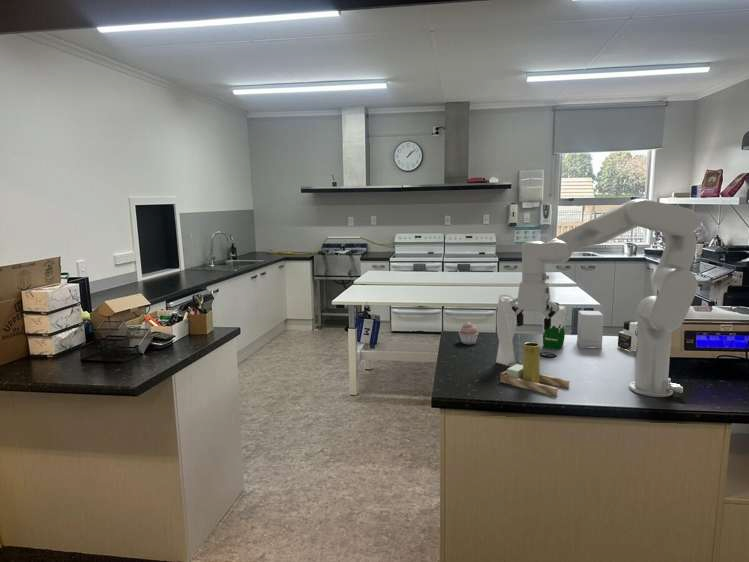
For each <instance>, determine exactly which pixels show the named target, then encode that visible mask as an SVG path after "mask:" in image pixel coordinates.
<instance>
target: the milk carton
mask: <svg viewBox="0 0 749 562" xmlns="http://www.w3.org/2000/svg"><path fill="white" fill-rule="evenodd" d="M553 302H554V301H553ZM554 303H555V304H557V305H558V306H559V309H558V310H557V312H556V314H555V315H553V317H551V327H550V329H548V330H544V319H545V318H546V317H545V316H544V315H543V314H542V347H543V349H551V350H557V351H558V350H559V351H560V350H562V348H563V347H564V343H565V342H564V341H565V335H566V334H565V333H566V315H567V314H566V306H565V305H560V304H559V302H554ZM552 310H553V308H552V307H551V308H550V310H549V311H550V312H551V311H552ZM562 346H563V347H562Z"/></svg>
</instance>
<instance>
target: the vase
mask: <svg viewBox="0 0 749 562" xmlns="http://www.w3.org/2000/svg"><path fill="white" fill-rule="evenodd" d="M540 351H541V345H540V343H537V342H534V341H533V342H531V341H528V342H524V343H523V358H522V359H523V360H522V365H523V372H522V380H526V381H531V382H535V383H539V384H541V382H540V374H541V372H540V371H541V369H540V366H541V365H540V356H541V355H540V353H541V352H540Z"/></svg>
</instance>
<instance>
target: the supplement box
mask: <svg viewBox="0 0 749 562" xmlns="http://www.w3.org/2000/svg"><path fill="white" fill-rule="evenodd" d="M577 313H578V315H577V316H578V317H577V332H576V333H577V335H576V339H577V340H576V344H579V345H578V346H579V348H580V347H595V348H594V349H600V348H602V349H603V334H604V333H603V332H604V331H603V330H604V314H603V313H602V312H601V311H600V310H578V312H577Z"/></svg>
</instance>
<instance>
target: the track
mask: <svg viewBox="0 0 749 562" xmlns="http://www.w3.org/2000/svg"><path fill="white" fill-rule="evenodd" d="M499 382H500V383H502V382H503V383H504V384H506V383H507V385H510V384H511V386H515V387H518V388H523V389H527V390H529V389H530V390H531V391H533V390H534V391H533V392H537V391H538V393H543V394H546V395H549V394H550V396H553V395H554V397H558V393H559V392H558V391H559V389H558V387H560V386H562V387H561V388H565V387H566V389H570V382H571V381H570V380H569V379H565V378H560V377H556V376H551V375H547V374H543V373H540V384H539V383H535V382H531V381H526V380H522V379H518V378H514V377H510V376H507V369H506V370H505V371H502V372H500V380H499ZM542 383H544V384H542ZM548 384H549V385H548ZM551 385H553V386H551ZM556 385H557V387H554V386H556ZM530 390H529V391H530Z"/></svg>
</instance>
